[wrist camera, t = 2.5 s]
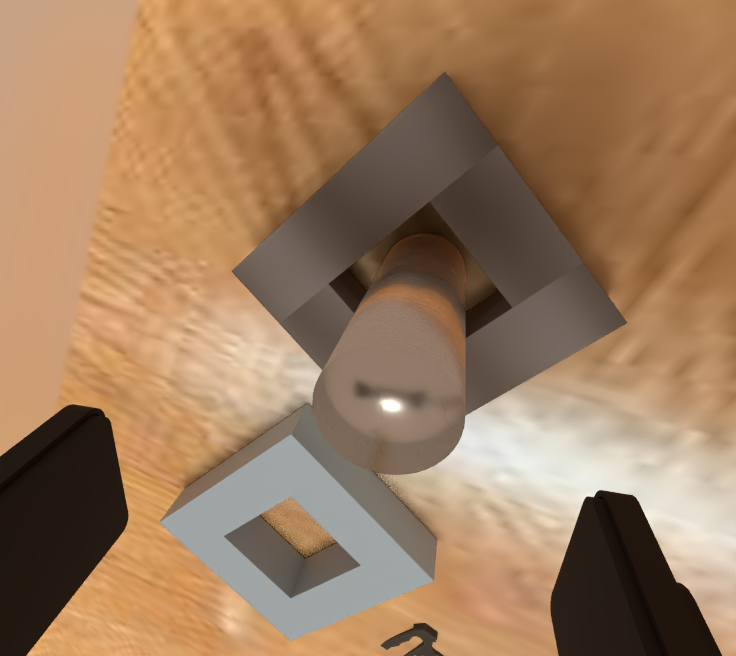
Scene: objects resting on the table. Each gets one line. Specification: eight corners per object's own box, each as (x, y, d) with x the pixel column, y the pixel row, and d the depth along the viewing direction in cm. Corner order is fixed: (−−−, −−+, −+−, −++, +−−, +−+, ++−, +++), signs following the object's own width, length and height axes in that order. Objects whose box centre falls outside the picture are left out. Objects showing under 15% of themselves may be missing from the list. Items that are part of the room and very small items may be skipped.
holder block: (308, 402, 28) (290, 434, 25) (436, 539, 30) (433, 581, 27) (184, 488, 32) (158, 522, 30) (304, 600, 35) (290, 641, 32)
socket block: (448, 77, 20) (444, 71, 17) (607, 297, 22) (627, 323, 19) (257, 253, 24) (231, 271, 22) (405, 419, 27) (399, 453, 24)
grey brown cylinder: (430, 215, 22) (396, 313, 11) (482, 281, 23) (497, 431, 12) (366, 267, 24) (282, 396, 13) (417, 327, 24) (378, 495, 14)
